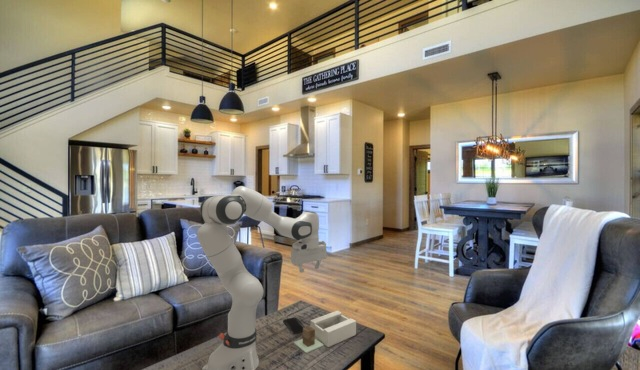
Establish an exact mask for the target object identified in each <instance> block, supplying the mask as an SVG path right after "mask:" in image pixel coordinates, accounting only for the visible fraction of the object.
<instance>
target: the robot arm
mask: <svg viewBox="0 0 640 370" xmlns="http://www.w3.org/2000/svg"><path fill="white" fill-rule="evenodd" d="M273 209H274V208H273V203H272V201H271V200H270V199H268V197H266V196H265V195H263V194H261V193H260V192H258V191H256V190H254V189H252V188H249V187H247V186H244V185H239V186H237V187H235V188H233V190H232V191H231V193H230V195H222V194H221V195H219V194H218V195H212V196H209V197H207V198H204V200H203V201H202V202H201V204H200V207H199V213H200V222H201V224H202V225H200V227H199V228H198V229H197V232H196V236H197V239H198V242H199V244H200V247H201V248H202V249H201V250H202V252H204V255H205V256H206V258H207V260H208V261H209V262H210V264H211V266H212V267H213V269H214V270H215V272H216V274H217V276H218V278H219V281H220V282H221V283H222V286H223V287H224V289H225V290H226V291H227V293H229V294H230V297H231V299H232V300H231V301H232V303H231V306H230V307H231V309H230V310H229V312H228V314H227V332H226V334H225V333H223V332H220V334H219V335H218V338H220V340H221V341H222V340H223V341H222V342H221V344H219V346H218V347H217V348H215V350H213V351H212V352H211V353H210V355H209V358H208V360H207V361H208V362H207V364H205V365H203V366H202V369H201V370H256V369H257V368H258V367H259V365H260V359H259V357H258V351H257V344H256V343H257V327H256V319H257V318H256V313H257V307H258V304H259V303H260V302H261V300H262V299H263V297H264V291H265V290H264V288H263V285H262V283H261V282H260V281H259V279H258V278H257V277H256V276H254V275H253V274H251V272H249V271H248V270H247V268H246V266H245V265H244V261H243V258H242V255H241V253H240V251H239V249H238V248H237V246H236V245H235V243H234V241H233V239H232V238H231V236H230V234H229V232H228V228H227V225H231V224H232V225H233V224H235V223H237V222H238V221H240V220H242V218H243V216H244V215H245V216H246V217H248V218H250V219H252V220H254V221H258V222H264V223H266V224H267V225H269V226H271V227H272V228H273V230H274V231H275V232H276V234H278V235H279V236H280V237H284V238H285V237H286V238H288V239H292V240H295V242H294V243H292V245H291V247H292V249H291V254H290V262H291V264H292V265H295V266H297V267H298V270H299V273H304V272H305V269H304V267H303V264H308V263H313V262H316V264H315V265H314V269H315V270H319V269H320V264H321V262H322V260H326V259H327V257H328V251H327V250H328V249H327V243H326V242H325V241H324V240H321V241H319V239H320V236H319V229H320V220H319V219H320V218H319V215H318V213H317V212H315V211H309V210H303V211H302V213H301V214H300V215H299V216H298V217H295V218H293V217H290V216H286V215H279V214H277V212H274V211H273ZM296 240H297V241H296Z"/></svg>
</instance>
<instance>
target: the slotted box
mask: <svg viewBox="0 0 640 370" xmlns="http://www.w3.org/2000/svg"><path fill="white" fill-rule="evenodd" d="M309 323H310V324H309V326H311V327H312V328H314V329H315V339H317V340H318V341H319V342H321V343H322V344H324V346H326V347H327V348H329V347H332V346H334V345H336V344H339V343H341V342H344V341H346V340H348V339H349V338H352V337H353V336H356V335H357V320H355V319H353V318H348V317H346V316H345V315H343V313H342V312H341V311H339V310H335V311H333V312H329V313H327V314H325V315H322V316H318V317H316V318H313V319H311V320H310V321H309Z"/></svg>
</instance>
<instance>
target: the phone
mask: <svg viewBox="0 0 640 370" xmlns="http://www.w3.org/2000/svg"><path fill="white" fill-rule="evenodd" d="M282 323H283V324H284V325H285V327H286V328H287V329H288V330H289V331H290V333H291V334H292V335H293V336H294V335H299V334H303V328H305V326H304V324H303V323H302V322H301V321H300V320H299V319H298V317H296V316H295V317H290V318H285V319H283V320H282Z"/></svg>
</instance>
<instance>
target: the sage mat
mask: <svg viewBox="0 0 640 370" xmlns="http://www.w3.org/2000/svg"><path fill="white" fill-rule="evenodd" d="M293 344H294V345H295V346H296V347H297V348H299V349H300V350H301V351H302V352H304V353H305V354H309V353H311V352H314V351H317V350H318V349H320V348H323V347H324V346H325V345H324V344H323V343H322V342H320V341H319V340H318V339H316V338H315V344H313V345H311V346H309V347H307V346H306V345H305V344H303V338H301V339H300V338H299V339H297V340H296V341H294V342H293Z"/></svg>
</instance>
